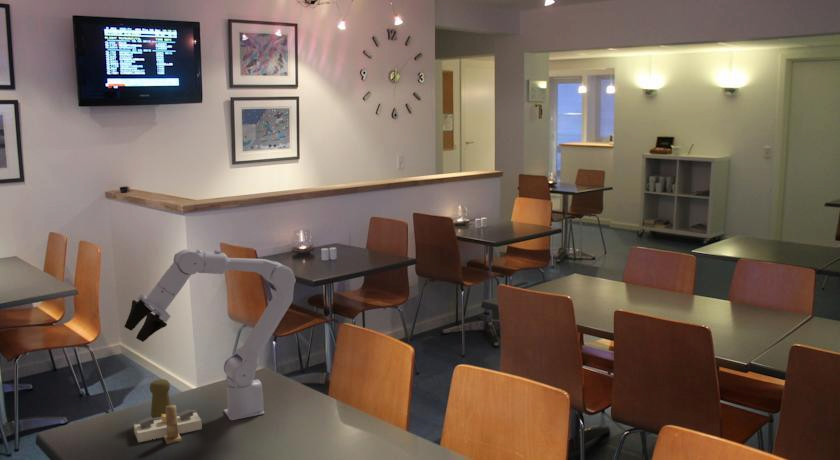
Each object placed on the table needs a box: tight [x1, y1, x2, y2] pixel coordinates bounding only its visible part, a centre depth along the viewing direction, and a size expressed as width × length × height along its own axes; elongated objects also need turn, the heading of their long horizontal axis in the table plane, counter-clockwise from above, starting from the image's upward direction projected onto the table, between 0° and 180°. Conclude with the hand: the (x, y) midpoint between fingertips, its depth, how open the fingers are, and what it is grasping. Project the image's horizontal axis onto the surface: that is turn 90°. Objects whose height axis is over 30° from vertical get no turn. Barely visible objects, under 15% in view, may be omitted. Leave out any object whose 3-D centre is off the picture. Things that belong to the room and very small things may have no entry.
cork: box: [149, 378, 172, 418], centre depth 201 cm, size 6×6×11 cm
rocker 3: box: [178, 408, 193, 420], centre depth 196 cm, size 3×2×1 cm
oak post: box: [163, 404, 182, 445], centre depth 188 cm, size 4×4×9 cm
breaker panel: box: [133, 409, 203, 443], centre depth 194 cm, size 16×7×3 cm, turn 119°
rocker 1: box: [138, 415, 154, 428], centre depth 191 cm, size 3×2×1 cm
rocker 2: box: [161, 414, 166, 422], centre depth 194 cm, size 3×2×1 cm
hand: (133, 334), depth 188 cm, fingers open, 7 cm apart
